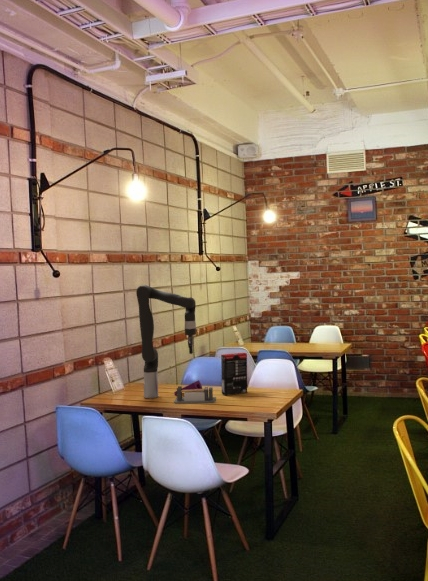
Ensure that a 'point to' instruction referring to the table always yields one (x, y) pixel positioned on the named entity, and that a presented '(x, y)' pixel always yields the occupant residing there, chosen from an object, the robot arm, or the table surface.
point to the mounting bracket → (192, 386)
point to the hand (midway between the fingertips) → (191, 353)
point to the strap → (193, 390)
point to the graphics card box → (234, 373)
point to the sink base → (195, 396)
